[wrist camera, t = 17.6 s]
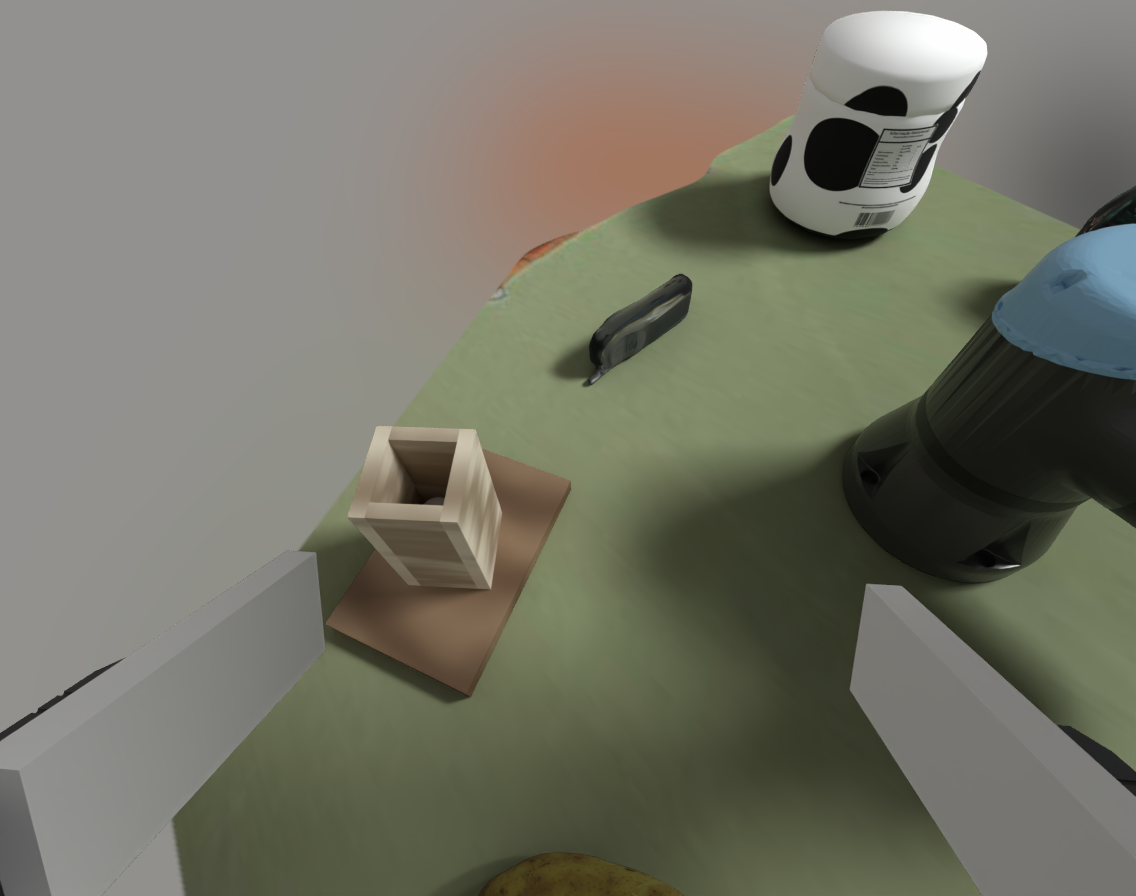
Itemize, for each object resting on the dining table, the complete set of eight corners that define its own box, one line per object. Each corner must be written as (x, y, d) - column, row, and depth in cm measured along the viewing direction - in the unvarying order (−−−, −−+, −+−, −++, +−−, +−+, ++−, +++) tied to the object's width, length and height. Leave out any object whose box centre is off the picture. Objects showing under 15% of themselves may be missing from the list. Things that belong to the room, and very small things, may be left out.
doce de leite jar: (811, 158, 73) (869, -6, 58) (931, 208, 66) (1033, 36, 51) (734, 210, 67) (776, 43, 52) (857, 272, 60) (947, 99, 45)
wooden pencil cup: (426, 509, 43) (376, 426, 33) (502, 513, 43) (475, 429, 33) (408, 584, 40) (347, 517, 30) (490, 589, 40) (457, 522, 29)
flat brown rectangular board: (452, 446, 49) (428, 385, 41) (570, 489, 46) (567, 432, 38) (333, 628, 40) (275, 593, 32) (470, 697, 37) (441, 675, 30)
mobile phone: (677, 266, 54) (574, 337, 49) (700, 279, 53) (597, 354, 47) (671, 303, 58) (575, 374, 53) (692, 316, 57) (596, 390, 52)
